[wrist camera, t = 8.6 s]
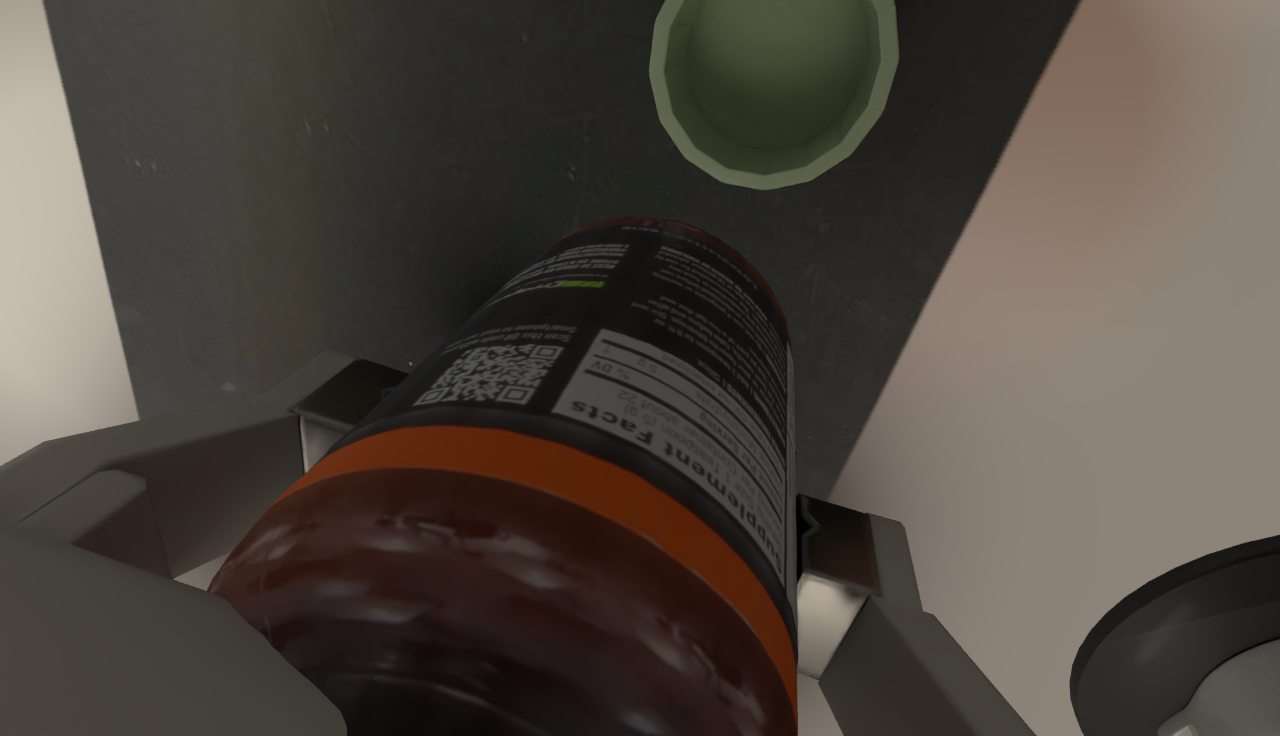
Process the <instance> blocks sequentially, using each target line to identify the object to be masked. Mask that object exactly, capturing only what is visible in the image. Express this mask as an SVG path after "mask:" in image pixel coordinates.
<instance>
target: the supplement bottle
mask: <svg viewBox="0 0 1280 736" xmlns="http://www.w3.org/2000/svg"><path fill="white" fill-rule="evenodd" d="M790 341H791V339H790V337H789V333H788V328H787V322H786V319H785V317H784V315H783V311H782V309H781V307H780V305H779V303H778V300H777V298H776V297H775V295H774V293H773V292H772V290H771V288H770V287H769V285H768V284H767V283H766V281H765V280H764V279H763V277H762V276H761V275H760V274H759V272H758V271H757V270H756V269H755V268H754V267H753V266H752V265H751V264H750V263H749V262H748V261H747V260H746V259H745V258H744V257H743V256H742V255H741V254H740V253H738V252H737V251H736V250H735V249H733V248H732V247H730V246H728V245H727V244H725V243H724V242H723V241H721V240H720V239H718V238H717V237H715V236H713V235H711V234H709V233H707V232H705V231H703V230H701V229H699V228H696V227H693V226H691V225H688V224H685V223H682V222H679V221H674V220H662V219H658V218H650V217H635V216H631V217H624V218H616V219H608V220H604V221H600V222H596V223H594V224H591V225H588V226H585V227H582V228H579V229H577V230H574V231H573V232H571V233H570V234H568V235H566V236H564V237H562V238H561V239H559V240H557V241H555V242H554V243H553V244H552V245H550V246H549V247H548V248H546V249H544V250H542V251H541V252H540V253H539V254H538V255H537V256H536V257H534V258H533V259H532V260H530V261H529V262H528V263H527V264H526V266H525V267H524V268H523V269H522V270H521V271H519V272H518V273H517V274H516V275H515V276H514V277H513V278H512V279H511V280H510V281H508V282H507V283H506V284H505V285H504V286H503V287H502V288H501V289H500V290H499V291H498V292H497V293H495V294H494V295H493V296H492V297H491V298H490V299H489V300H488V301H487V302H486V303H485V304H484V305H482V306H481V307H480V308H479V309H477V310H476V312H475V313H474V314H473V315H472V316H471V317H470V318H469V319H468V320H467V321H466V322H465V323H464V324H463V325H462V326H461V327H460V328H459V329H457V330H456V331H455V332H454V333H453V334H452V335H451V336H450V337H449V338H448V339H447V340H446V341H445V342H444V343H443V344H441V345H440V346H439V347H438V348H437V349H436V350H435V351H434V352H433V353H432V354H431V355H430V356H429V357H428V358H427V359H426V360H425V361H424V362H423V363H421V364H420V365H419V366H418V367H417V368H416V369H415V370H414V371H413V372H412V373H410V374H409V375H408V376H407V377H406V379H405V380H404V381H402V382H401V383H400V384H399V385H398V386H397V387H396V388H395V389H394V390H393V391H392V392H391V393H390V394H389V395H387V396H386V397H385V398H384V399H383V400H382V401H381V402H380V403H379V404H377V405H376V406H375V407H374V408H373V409H372V410H371V411H370V412H369V413H368V414H367V415H366V416H365V417H364V418H363V419H362V420H361V421H360V422H359V423H358V424H357V425H356V426H355V427H354V428H352V429H351V430H350V431H349V432H348V433H347V434H346V435H345V436H343V437H342V438H341V439H340V440H338V441H337V442H336V443H335V444H333V445H332V446H331V447H330V449H329V450H328V451H327V453H326V454H325V455H324V456H323V457H322V458H321V459H320V460H319V461H318V462H317V463H316V464H315V465H314V466H313V467H312V468H311V469H310V470H309V471H308V472H307V473H306V474H305V475H304V476H303V477H301V478H300V479H299V480H298V481H297V482H296V483H294V484H293V485H292V486H291V487H290V488H289V489H288V490H287V491H286V492H285V493H284V494H283V495H282V496H281V497H279V498H278V499H277V500H276V501H275V502H274V503H273V504H272V505H271V507H270V508H269V509H268V510H267V511H266V512H265V513H264V514H263V515H262V516H261V517H260V519H259V520H258V521H257V522H256V523H255V524H254V525H253V527H252V528H251V529H250V530H249V532H248V533H247V534H246V535H245V537H244V538H243V539H242V540H241V542H240V543H239V544H238V545H237V546H236V548H235V549H234V550H233V551H232V552H231V554H230V555H229V557H228V558H227V559H226V561H225V562H224V564H223V565H222V567H221V568H220V570H219V571H218V572H217V574H216V575H215V577H214V578H213V579H212V581H211V584H210V586H209V588H208V590H207V591H208V592H210V593H213V594H216V595H219V596H221V597H222V598H224V599H226V600H227V601H228V602H229V603H230V604H231V605H232V606H233V607H234V608H235V610H236V611H237V612H238V613H239V615H240V616H242V617H243V618H244V619H245V620H246V621H247V623H249V624H250V625H251V626H252V627H254V628H255V629H256V630H257V631H259V632H260V633H262V634H263V635H264V637H265V638H266V639H267V640H268V642H269V643H270V644H271V646H272V647H273V648H274V649H276V650H277V651H278V652H279V653H280V654H281V655H282V656H283V657H284V659H285V660H286V661H287V662H288V663H289V664H291V665H292V666H293V667H294V668H295V669H296V670H297V671H299V672H300V673H301V674H302V675H303V676H304V677H306V678H307V679H308V680H309V681H311V682H312V683H313V684H314V685H315V686H316V687H317V688H318V689H319V690H320V691H321V692H322V693H323V694H324V695H325V696H326V697H327V698H328V699H329V700H330V701H331V702H332V703H333V704H334V705H335V706H336V707H337V708H338V709H339V710H340V712H341V714H342V716H343V719H344V721H345V723H346V727H347V736H798V712H797V665H798V656H799V650H798V609H797V573H796V566H797V534H796V510H795V508H796V490H795V455H796V452H795V415H794V403H795V400H794V370H793V361H792V351H791V344H790Z"/></svg>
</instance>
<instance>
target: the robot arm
mask: <svg viewBox="0 0 1280 736" xmlns="http://www.w3.org/2000/svg"><path fill="white" fill-rule="evenodd" d="M408 375H409V374H407V373H404V372H401V371H398V370H395V369H392V368H389V367H386V366H383V365H380V364H377V363H374V362H371V361H368V360H365V359H360V358H358V357H355V356H352V355H348V354H345V353H342V352H339V351H336V350H329V351H324V352H322V353H321V354H320V355H318V356H317V357H315V358H314V359H312V360H311V361H310V362H308V363H307V364H305V365H304V366H302V367H301V368H300V369H298V370H297V371H295V372H294V373H293V374H291V375H290V376H288V377H287V378H285V379H284V380H283V381H281V382H280V383H278V384H277V385H275V386H274V387H273V388H271V389H270V390H268V391H267V392H265V393H264V394H263V395H261V396H260V397H258V398H257V399H256V400H251V399H247V398H240V399H236V400H231V401H227V402H222V403H218V404H213V405H209V406H204V407H199V408H195V409H190V410H186V411H181V412H177V413H172V414H168V415H163V416H158V417H154V418H149V419H145V420H140V421H136V422H132V423H127V424H122V425H117V426H113V427H108V428H104V429H99V430H95V431H90V432H86V433H81V434H77V435H72V436H67V437H63V438H58V439H54V440H50V441H45V442H43V443H41V444H39V445H37V446H35V447H34V448H32V449H30V450H28V451H27V452H25V453H23V454H21V455H19V456H18V457H16V458H14V459H13V460H11V461H9V462H7V463H5V464H4V465H2V466H0V736H347V727H346V723H345V721H344V719H343V716H342V714H341V712H340V710H339V709H338V708H337V707H336V706H335V705H334V704H333V703H332V702H331V701H330V700H329V699H328V698H327V697H326V696H325V695H324V694H323V693H322V692H321V691H320V690H319V689H318V688H317V687H316V686H315V685H314V684H313V683H312V682H311V681H309V680H308V679H307V678H306V677H304V676H303V675H302V674H301V673H300V672H299V671H297V670H296V669H295V668H294V667H293V666H292V665H291V664H289V663H288V662H287V661H286V660H285V659H284V657H283V656H282V655H281V654H280V653H279V652H278V651H277V650H276V649H274V648H273V647H272V646H271V644H270V643H269V642H268V640H267V639H266V638H265V637H264V635H263V634H262V633H260V632H259V631H257V630H256V629H255V628H254V627H252V626H251V625H250V624H249V623H247V621H246V620H245V619H244V618H243V617H242V616H240V615H239V613H238V612H237V611H236V610H235V608H234V607H233V606H232V605H231V604H230V603H229V602H228V601H227V600H226V599H224V598H222V597H221V596H219V595H216V594H213V593H210V592H208V591H205V590H202V589H199V588H196V587H193V586H190V585H187V584H184V583H181V582H178V581H176V580H174V579H173V578H176V577H178V576H180V575H182V574H184V573H186V572H188V571H190V570H192V569H194V568H197V567H199V566H201V565H203V564H205V563H207V562H209V561H212V560H214V559H216V558H218V557H220V556H222V555H224V554H226V553H229V552H231V551H233V550H234V549H235V548H236V546H237V545H238V544H239V543H240V542H241V540H242V539H243V538H244V537H245V535H246V534H247V533H248V532H249V530H250V529H251V528H252V527H253V525H254V524H255V523H256V522H257V521H258V520H259V519H260V517H261V516H262V515H263V514H264V513H265V512H266V511H267V510H268V509H269V508H270V507H271V505H272V504H273V503H274V502H275V501H276V500H277V499H278V498H279V497H281V496H282V495H283V494H284V493H285V492H286V491H287V490H288V489H289V488H290V487H291V486H292V485H293V484H294V483H296V482H297V481H298V480H299V479H300V478H301V477H303V476H304V475H305V474H306V473H307V472H308V471H309V470H310V469H311V468H312V467H313V466H314V465H315V464H316V463H317V462H318V461H319V460H320V459H321V458H322V457H323V456H324V455H325V454H326V453H327V451H328V450H329V449H330V447H331V446H332V445H333V444H335V443H336V442H337V441H338V440H340V439H341V438H342V437H343V436H345V435H346V434H347V433H348V432H349V431H350V430H351V429H352V428H354V427H355V426H356V425H357V424H358V423H359V422H360V421H361V420H362V419H363V418H364V417H365V416H366V415H367V414H368V413H369V412H370V411H371V410H372V409H373V408H374V407H375V406H376V405H377V404H379V403H380V402H381V401H382V400H383V399H384V398H385V397H386V396H387V395H389V394H390V393H391V392H392V391H393V390H394V389H395V388H396V387H397V386H398V385H399V384H400V383H401V382H402V381H404V380H405V379H406V377H407V376H408ZM795 510H796V534H797V566H796V573H797V609H798V650H799V656H798V665H797V673H800V674H803V675H806V676H808V677H811V678H814V679H817V680H819V682H818V684H819V686H820V688H821V690H822V692H823V694H824V696H825V698H826V700H827V702H828V704H829V706H830V708H831V710H832V712H833V714H834V717H835V719H836V721H837V722H838V725H839V727H840V729H841V730H842V733H843V735H844V736H1036V735H1035V734H1034V732H1033V731H1032V730H1031V729H1030V728H1029V726H1028V725H1027V724H1026V723H1025V722H1024V721H1023V719H1022V718H1021V717H1020V716H1019V715H1018V713H1017V712H1016V711H1015V710H1014V709H1013V708H1012V706H1011V705H1010V704H1009V703H1008V702H1007V701H1006V699H1005V698H1004V697H1003V696H1002V695H1001V693H1000V692H999V691H998V690H997V689H996V688H995V687H994V685H993V684H992V683H991V682H990V681H989V679H988V678H987V677H986V676H985V675H984V673H983V672H982V671H981V670H980V669H979V668H978V666H977V665H976V664H975V663H974V662H973V661H972V659H971V658H970V657H969V656H968V655H967V653H966V652H965V651H964V650H963V649H962V648H961V646H960V645H959V644H958V643H957V642H956V641H955V639H954V638H953V637H952V636H951V635H950V634H949V632H948V631H947V630H946V629H945V628H944V626H943V625H942V624H941V623H940V622H939V621H938V619H937V618H936V617H935V616H934V615H933V614H930V613H927V612H924V611H923V610H922V605H921V600H920V596H919V591H918V586H917V582H916V578H915V573H914V568H913V564H912V559H911V554H910V550H909V545H908V541H907V536H906V532H905V527H904V526H903V525H902V524H901V522H899V521H895V520H891V519H888V518H884V517H881V516H877V515H873V514H870V513H862V512H858V511H856V510H852V509H849V508H845V507H842V506H839V505H835V504H832V503H829V502H826V501H822V500H819V499H816V498H812V497H809V496H806V495H802V494H799V493H798V495H797V496H796V508H795ZM1157 734H1158V736H1280V639H1278V640H1275V641H1271V642H1268V643H1265V644H1262V645H1259V646H1257V647H1254V648H1252V649H1249V650H1247V651H1245V652H1243V653H1241V654H1239V655H1237V656H1235V657H1233V658H1231V659H1229V660H1228V661H1226V662H1225V663H1223V664H1222V665H1220V666H1219V667H1217V668H1216V669H1215V670H1214V671H1212V672H1211V673H1210V674H1209V675H1208V676H1207V677H1206V678H1205V679H1204V680H1203V681H1202V683H1201V684H1200V685H1199V687H1198V688H1197V690H1196V692H1195V693H1194V695H1193V697H1192V699H1191V701H1190V702H1189V703H1188V705H1187V706H1186V707H1185V708H1184V709H1183V710H1181V711H1179V712H1178V713H1176V714H1175V715H1173V716H1172V717H1170V718H1169V719H1167V720H1166V721H1164V722H1163V723H1162V724H1161V725H1160V726H1159V727H1158V729H1157Z"/></svg>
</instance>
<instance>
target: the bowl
mask: <svg viewBox="0 0 1280 736" xmlns="http://www.w3.org/2000/svg"><path fill="white" fill-rule="evenodd" d="M894 3H895V2H894V0H665V2H664V4H663V6H662V8H661V10H660V12H659V14H658V16H657V18H656V20H655V21H656V22H655V25H654V33H653V41H652V49H651V57H650V66H649V77H650V81H651V86H652V90H653V94H654V99H655V103H656V107H657V112H658V116H659V119H660V122H661V124H662V125H663V127H664V128H665V130H666V131H667V133H668V134H669V135H670V137H671V138H672V140H673V141H674V143H675V144H676V146H677V147H678V149H679V150H680V152H681V153H682V155H683V156H684V157H685V158H686V159H687V160H688V161H690V162H691V163H693V164H694V165H696V166H697V167H699V168H700V169H702V170H703V171H705V172H706V173H708V174H709V175H711V176H713V177H714V178H716V179H717V180H719V181H720V182H723V183H726V184H732V185H737V186H743V187H748V188H753V189H759V190H771V189H775V188H780V187H785V186H790V185H795V184H799V183H804V182H808V181H811V180H813V179H814V178H816V177H818V176H819V175H821V174H822V173H824V172H825V171H827V170H828V169H830V168H831V167H833V166H835V165H836V164H838V163H839V162H841V161H842V160H844V159H845V158H847V157H848V156H850V155H851V154H852V153H853V152H854V151H855V149H856V148H857V147H858V145H859V144H860V143H861V141H862V140H863V139H864V137H865V136H866V135H867V133H868V132H869V131H870V129H871V128H872V127H873V125H874V124H875V123H876V121H877V120H878V119H879V117H880V116H881V115H882V111H884V109H885V105H886V102H887V99H888V96H889V92H890V89H891V86H892V82H893V79H894V76H895V73H896V69H897V66H898V63H899V43H898V30H897V17H896V5H895V4H894Z"/></svg>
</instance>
